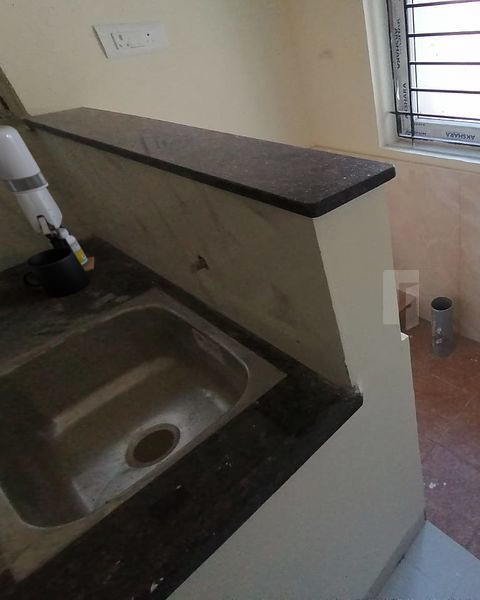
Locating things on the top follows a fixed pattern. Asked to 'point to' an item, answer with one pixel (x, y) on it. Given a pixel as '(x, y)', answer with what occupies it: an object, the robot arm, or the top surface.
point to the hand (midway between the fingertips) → (66, 247)
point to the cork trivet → (89, 264)
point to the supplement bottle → (73, 245)
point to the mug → (57, 272)
